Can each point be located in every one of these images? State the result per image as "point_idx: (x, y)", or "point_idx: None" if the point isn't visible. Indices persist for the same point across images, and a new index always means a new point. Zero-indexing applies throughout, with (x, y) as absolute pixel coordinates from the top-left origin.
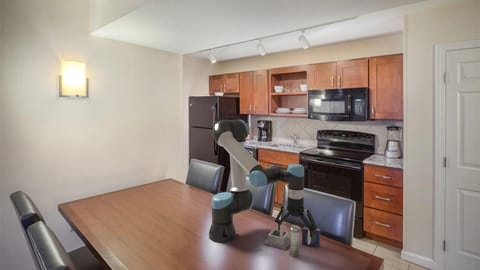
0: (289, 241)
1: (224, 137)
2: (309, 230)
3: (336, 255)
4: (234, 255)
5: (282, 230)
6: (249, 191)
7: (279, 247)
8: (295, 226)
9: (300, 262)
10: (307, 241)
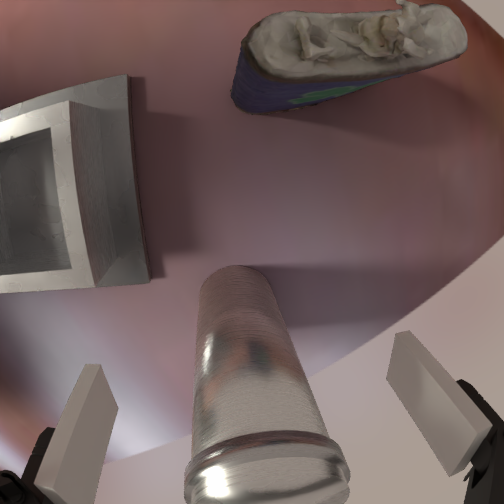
0: (120, 143)
1: None
2: (466, 462)
3: (474, 152)
4: (12, 429)
5: (89, 436)
6: None
7: (100, 286)
8: (272, 501)
9: (302, 354)
10: (297, 103)
